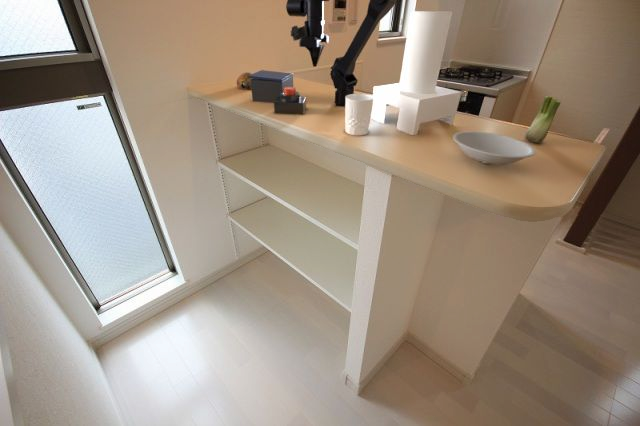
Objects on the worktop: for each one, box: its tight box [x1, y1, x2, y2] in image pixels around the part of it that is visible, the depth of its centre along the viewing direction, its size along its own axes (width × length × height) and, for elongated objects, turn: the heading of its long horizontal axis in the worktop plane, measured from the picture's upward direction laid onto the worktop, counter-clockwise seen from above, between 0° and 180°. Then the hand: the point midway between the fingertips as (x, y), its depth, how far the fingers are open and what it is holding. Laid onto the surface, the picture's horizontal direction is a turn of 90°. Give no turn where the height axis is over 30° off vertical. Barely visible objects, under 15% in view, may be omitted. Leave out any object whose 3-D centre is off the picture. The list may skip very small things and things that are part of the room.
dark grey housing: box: [250, 75, 294, 104], centre depth 118 cm, size 13×13×8 cm
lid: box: [248, 69, 294, 82], centre depth 115 cm, size 13×13×1 cm
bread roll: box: [236, 71, 253, 91], centre depth 135 cm, size 10×10×8 cm
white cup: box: [344, 93, 374, 137], centre depth 87 cm, size 8×8×10 cm
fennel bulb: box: [524, 95, 561, 144], centre depth 81 cm, size 6×5×12 cm
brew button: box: [284, 86, 297, 95], centre depth 102 cm, size 4×4×2 cm
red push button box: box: [273, 91, 307, 115], centre depth 105 cm, size 10×8×6 cm
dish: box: [452, 130, 536, 165], centre depth 71 cm, size 18×14×5 cm
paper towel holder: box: [370, 10, 462, 136], centre depth 90 cm, size 19×19×30 cm
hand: (314, 66), depth 113 cm, fingers closed
